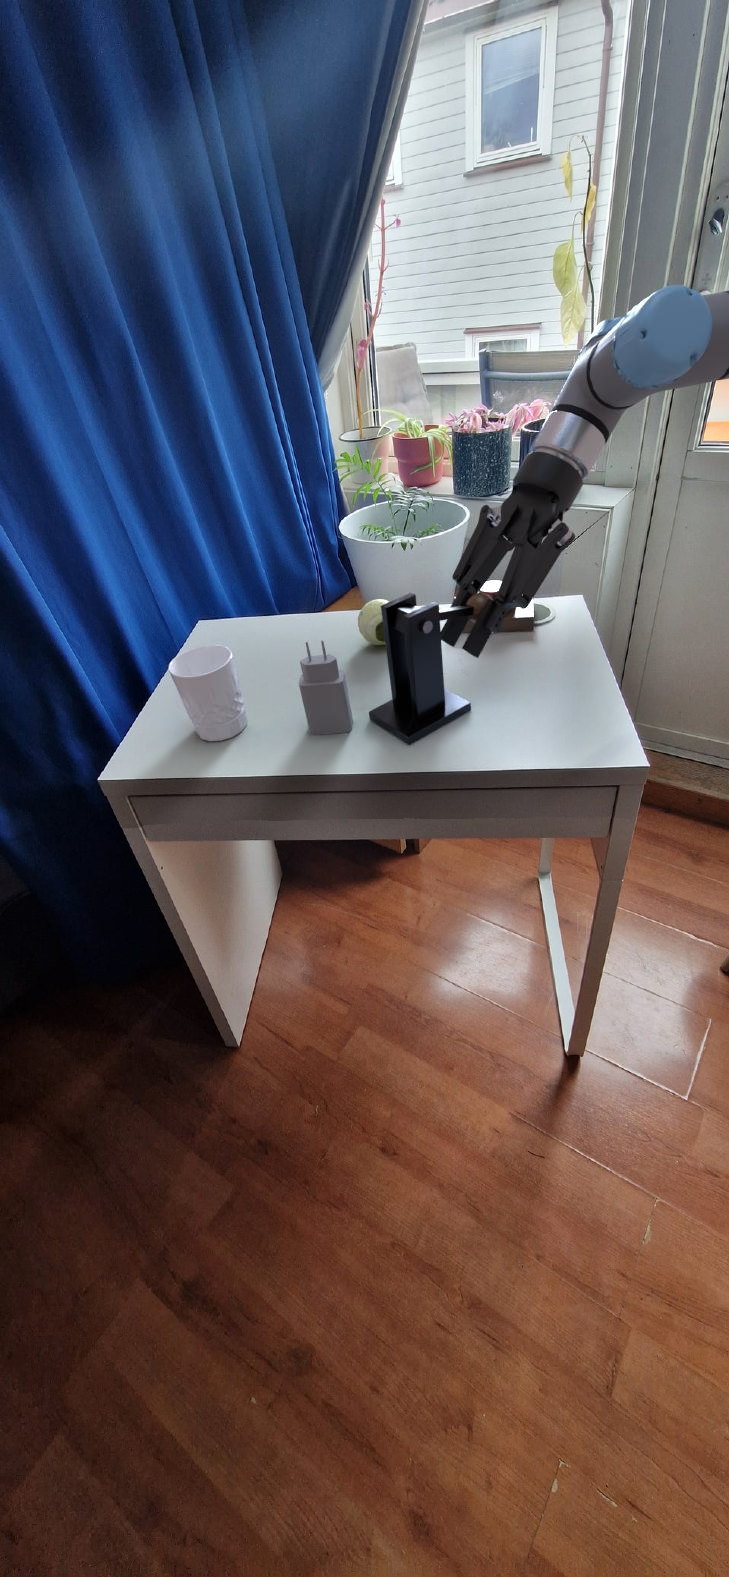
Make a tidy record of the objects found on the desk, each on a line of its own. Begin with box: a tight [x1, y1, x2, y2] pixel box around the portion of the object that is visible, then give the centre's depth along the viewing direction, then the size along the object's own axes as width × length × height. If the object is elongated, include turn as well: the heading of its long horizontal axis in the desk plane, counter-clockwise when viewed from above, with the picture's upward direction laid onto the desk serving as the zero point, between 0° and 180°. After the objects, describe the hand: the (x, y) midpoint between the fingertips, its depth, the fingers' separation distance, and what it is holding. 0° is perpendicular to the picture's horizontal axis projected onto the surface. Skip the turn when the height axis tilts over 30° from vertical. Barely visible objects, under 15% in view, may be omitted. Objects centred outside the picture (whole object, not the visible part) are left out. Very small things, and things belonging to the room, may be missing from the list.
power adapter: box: [298, 640, 354, 736], centre depth 79 cm, size 3×5×12 cm, turn 86°
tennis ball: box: [357, 598, 390, 647], centre depth 96 cm, size 6×7×7 cm
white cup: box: [168, 644, 248, 742], centre depth 83 cm, size 8×8×10 cm
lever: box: [395, 593, 493, 633], centre depth 77 cm, size 14×4×4 cm, turn 126°
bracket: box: [368, 592, 472, 746], centre depth 77 cm, size 10×8×15 cm
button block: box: [453, 592, 535, 634], centre depth 98 cm, size 12×8×4 cm, turn 79°
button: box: [479, 580, 502, 602], centre depth 96 cm, size 4×4×2 cm
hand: (457, 647), depth 80 cm, fingers closed on lever, 4 cm apart
